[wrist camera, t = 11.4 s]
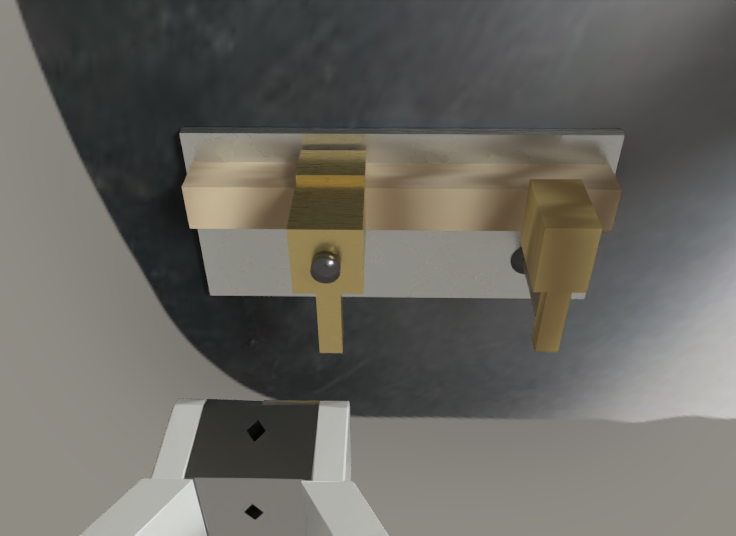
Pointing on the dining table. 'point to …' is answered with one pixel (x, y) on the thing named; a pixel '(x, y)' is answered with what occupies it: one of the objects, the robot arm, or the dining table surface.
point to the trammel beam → (445, 213)
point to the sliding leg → (328, 235)
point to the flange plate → (390, 247)
